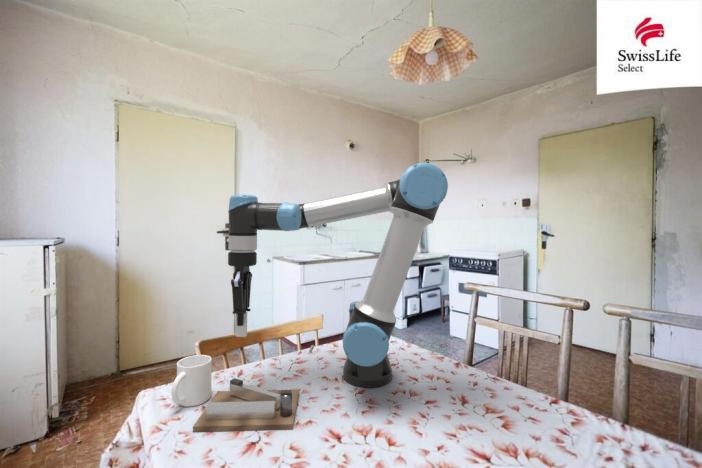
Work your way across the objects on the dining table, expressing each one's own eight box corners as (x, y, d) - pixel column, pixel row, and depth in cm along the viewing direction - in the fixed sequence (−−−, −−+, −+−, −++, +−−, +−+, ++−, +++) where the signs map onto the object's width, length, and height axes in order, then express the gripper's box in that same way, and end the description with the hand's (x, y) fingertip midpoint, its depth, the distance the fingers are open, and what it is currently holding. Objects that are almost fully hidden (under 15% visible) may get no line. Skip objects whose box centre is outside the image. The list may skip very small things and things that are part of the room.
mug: (186, 418, 78) (186, 375, 78) (157, 413, 80) (157, 371, 80) (217, 393, 90) (218, 356, 90) (191, 389, 92) (192, 353, 92)
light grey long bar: (280, 406, 81) (280, 391, 81) (276, 409, 80) (276, 394, 80) (234, 392, 88) (234, 378, 88) (229, 394, 86) (229, 380, 86)
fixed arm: (292, 410, 80) (292, 388, 80) (291, 417, 77) (291, 395, 77) (211, 412, 79) (211, 390, 78) (206, 420, 76) (206, 396, 75)
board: (299, 393, 90) (299, 389, 90) (292, 429, 74) (292, 424, 74) (217, 395, 89) (217, 391, 89) (192, 432, 73) (192, 426, 73)
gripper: (235, 249, 97) (234, 328, 97) (220, 252, 84) (219, 344, 84) (261, 249, 97) (260, 328, 98) (250, 253, 84) (249, 344, 85)
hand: (241, 335), depth 91 cm, fingers closed
